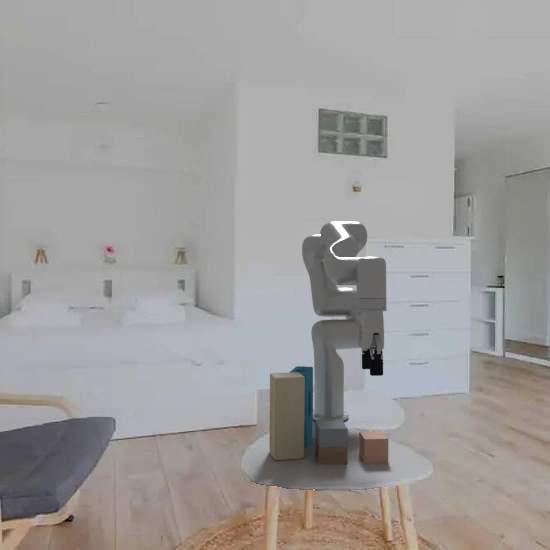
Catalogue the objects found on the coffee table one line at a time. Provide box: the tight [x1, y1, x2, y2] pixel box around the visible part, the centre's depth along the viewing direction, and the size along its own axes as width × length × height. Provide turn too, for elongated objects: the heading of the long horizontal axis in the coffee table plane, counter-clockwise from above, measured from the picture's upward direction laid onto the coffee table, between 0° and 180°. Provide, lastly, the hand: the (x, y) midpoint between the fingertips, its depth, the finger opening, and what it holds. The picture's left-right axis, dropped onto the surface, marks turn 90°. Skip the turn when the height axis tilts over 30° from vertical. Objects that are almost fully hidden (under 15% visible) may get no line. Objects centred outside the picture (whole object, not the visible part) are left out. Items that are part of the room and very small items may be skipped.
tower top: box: [315, 420, 349, 448], centre depth 137 cm, size 7×7×4 cm
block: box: [288, 365, 314, 448], centre depth 150 cm, size 12×5×20 cm, turn 165°
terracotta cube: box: [358, 430, 389, 464], centre depth 138 cm, size 6×6×6 cm
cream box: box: [268, 372, 305, 461], centre depth 140 cm, size 8×7×21 cm
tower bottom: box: [314, 437, 348, 466], centre depth 137 cm, size 7×7×4 cm
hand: (372, 372), depth 138 cm, fingers open, 9 cm apart
